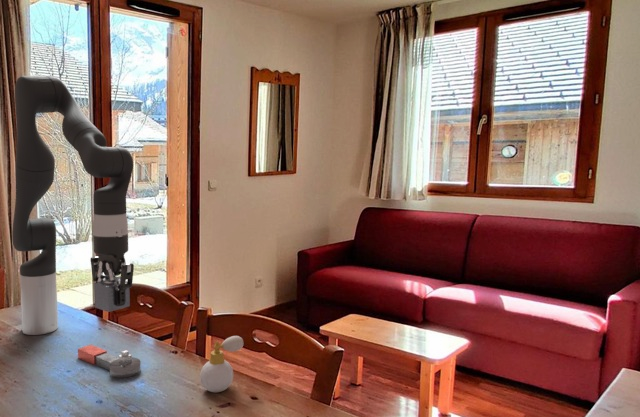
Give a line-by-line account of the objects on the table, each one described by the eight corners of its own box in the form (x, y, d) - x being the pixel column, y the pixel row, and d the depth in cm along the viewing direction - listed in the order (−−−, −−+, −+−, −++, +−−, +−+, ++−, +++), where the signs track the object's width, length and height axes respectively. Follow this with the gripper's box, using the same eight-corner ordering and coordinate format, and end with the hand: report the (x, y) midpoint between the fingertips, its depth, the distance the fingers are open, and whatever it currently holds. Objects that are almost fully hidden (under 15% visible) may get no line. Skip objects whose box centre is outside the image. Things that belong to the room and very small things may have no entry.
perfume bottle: (193, 390, 116) (193, 340, 115) (224, 375, 124) (224, 328, 123) (216, 400, 112) (216, 348, 111) (246, 384, 120) (247, 335, 119)
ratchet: (71, 360, 131) (71, 339, 130) (96, 351, 137) (96, 331, 136) (122, 382, 120) (121, 359, 119) (146, 371, 125) (146, 350, 125)
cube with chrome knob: (94, 307, 120) (93, 281, 120) (115, 302, 125) (115, 276, 124) (108, 312, 117) (107, 284, 116) (129, 306, 122) (129, 280, 121)
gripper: (78, 231, 120) (80, 301, 122) (114, 238, 112) (116, 312, 114) (107, 227, 126) (109, 294, 128) (143, 234, 118) (145, 304, 120)
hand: (112, 302), depth 121 cm, fingers closed on cube with chrome knob, 5 cm apart
